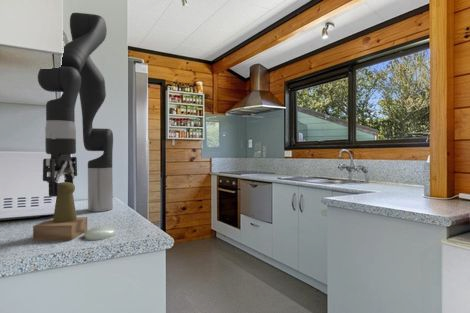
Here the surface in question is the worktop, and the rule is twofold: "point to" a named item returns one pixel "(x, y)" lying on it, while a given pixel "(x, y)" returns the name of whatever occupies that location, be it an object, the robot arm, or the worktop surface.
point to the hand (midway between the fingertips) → (61, 193)
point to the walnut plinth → (59, 230)
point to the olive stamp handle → (65, 203)
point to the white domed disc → (99, 233)
